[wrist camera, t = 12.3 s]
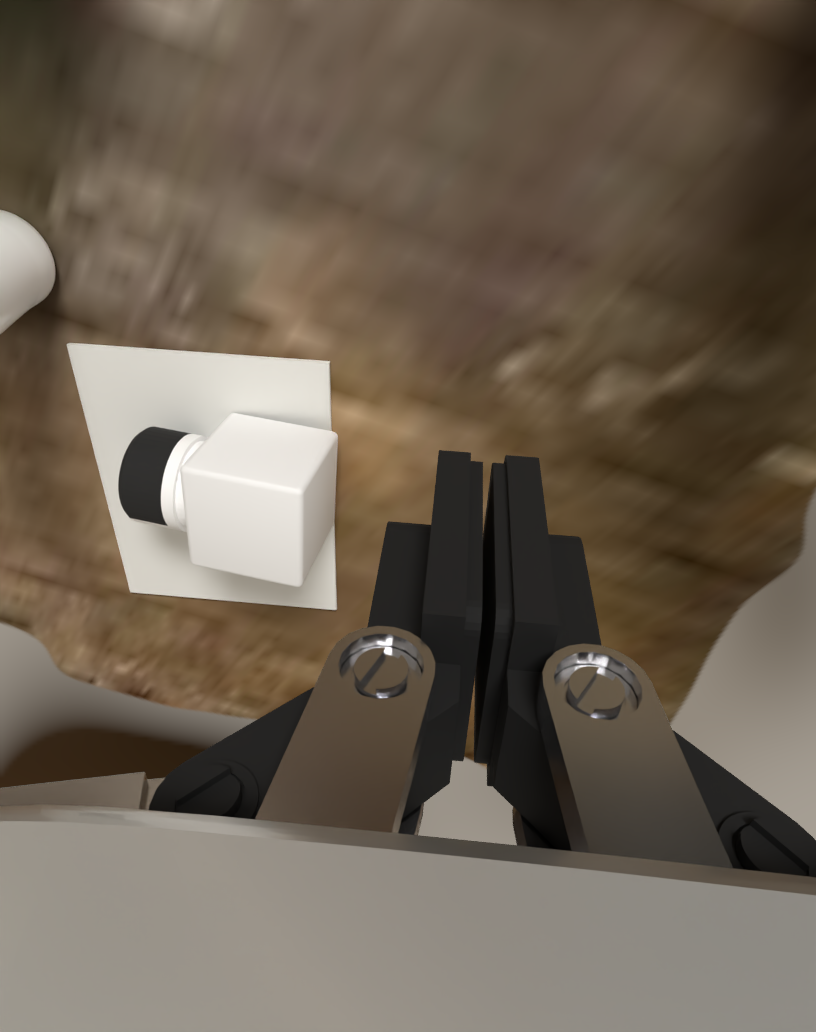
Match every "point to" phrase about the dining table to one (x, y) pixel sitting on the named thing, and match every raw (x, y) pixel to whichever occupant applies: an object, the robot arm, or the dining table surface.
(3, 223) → the white plastic cup
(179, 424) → the mat
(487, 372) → the dining table surface
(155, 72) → the dining table surface
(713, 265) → the dining table surface
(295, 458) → the medicine bottle
